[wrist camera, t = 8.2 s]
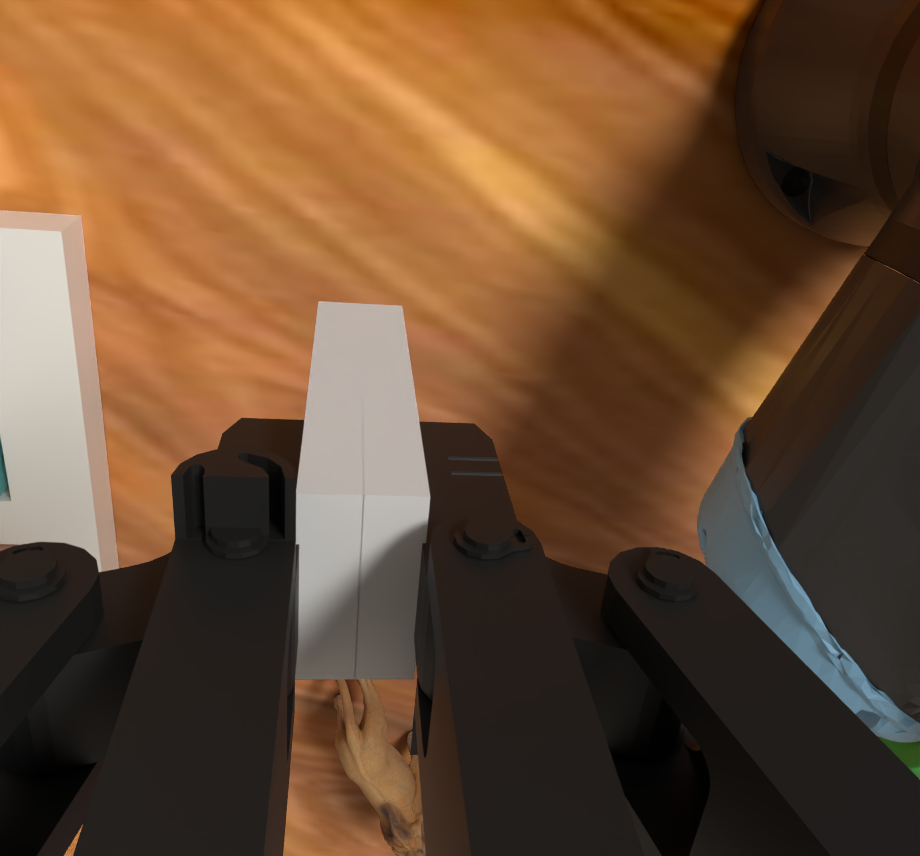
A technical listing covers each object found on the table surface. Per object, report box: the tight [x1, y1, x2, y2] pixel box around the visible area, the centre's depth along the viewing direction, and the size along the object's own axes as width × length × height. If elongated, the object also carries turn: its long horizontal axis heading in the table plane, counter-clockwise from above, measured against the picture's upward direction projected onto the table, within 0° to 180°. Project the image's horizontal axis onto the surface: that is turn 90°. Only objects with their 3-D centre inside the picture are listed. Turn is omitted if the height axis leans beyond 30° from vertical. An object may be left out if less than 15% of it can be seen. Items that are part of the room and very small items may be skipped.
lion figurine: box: [334, 679, 426, 856], centre depth 52 cm, size 15×5×9 cm, turn 34°
